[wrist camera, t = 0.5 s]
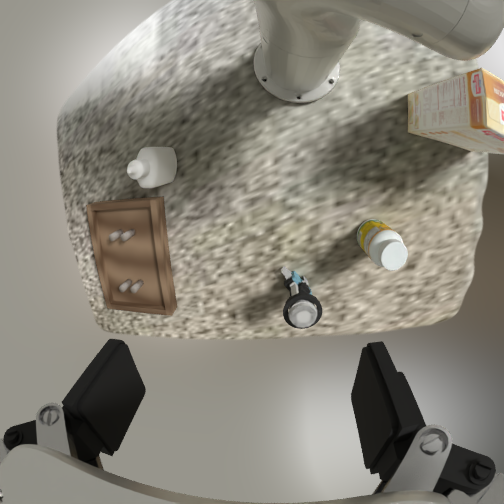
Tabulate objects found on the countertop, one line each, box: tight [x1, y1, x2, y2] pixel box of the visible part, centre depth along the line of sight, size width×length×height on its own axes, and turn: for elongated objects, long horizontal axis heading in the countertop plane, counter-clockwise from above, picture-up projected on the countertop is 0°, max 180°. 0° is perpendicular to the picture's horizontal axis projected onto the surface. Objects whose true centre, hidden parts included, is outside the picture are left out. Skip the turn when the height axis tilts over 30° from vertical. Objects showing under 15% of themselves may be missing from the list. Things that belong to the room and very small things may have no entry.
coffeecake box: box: [408, 68, 504, 154], centre depth 23 cm, size 15×7×20 cm, turn 88°
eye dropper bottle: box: [127, 147, 177, 188], centre depth 33 cm, size 4×6×12 cm
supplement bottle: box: [357, 219, 408, 270], centre depth 36 cm, size 5×5×10 cm
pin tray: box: [86, 197, 177, 316], centre depth 43 cm, size 20×14×4 cm
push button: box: [281, 267, 322, 329], centre depth 39 cm, size 7×5×10 cm
